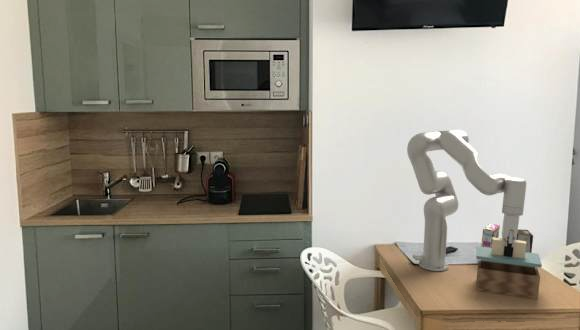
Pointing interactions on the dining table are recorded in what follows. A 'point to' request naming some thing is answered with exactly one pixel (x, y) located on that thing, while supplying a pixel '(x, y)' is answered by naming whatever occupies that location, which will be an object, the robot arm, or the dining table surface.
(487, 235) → the candy bar box
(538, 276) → the open wooden box
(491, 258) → the lid
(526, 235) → the coffee box
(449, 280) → the dining table surface
